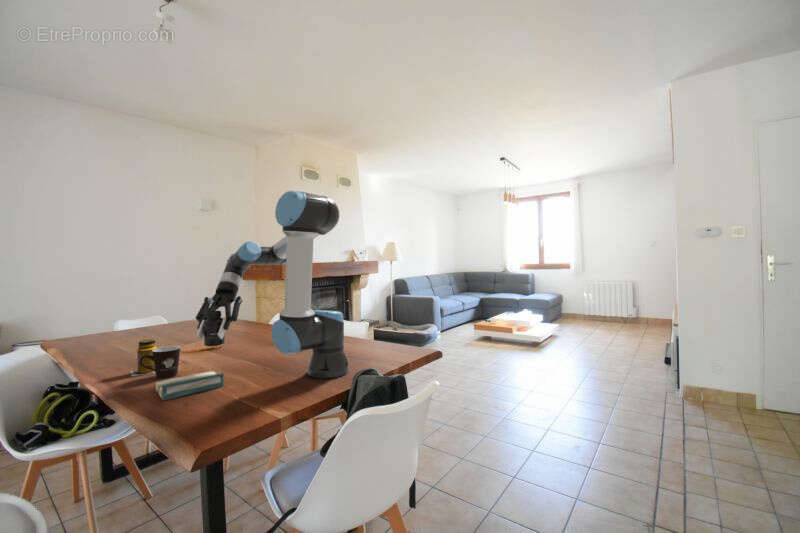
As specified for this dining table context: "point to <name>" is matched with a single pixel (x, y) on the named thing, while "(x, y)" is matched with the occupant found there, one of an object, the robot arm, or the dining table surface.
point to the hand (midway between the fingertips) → (209, 337)
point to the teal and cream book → (189, 384)
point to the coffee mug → (165, 361)
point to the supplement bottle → (213, 329)
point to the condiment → (144, 350)
